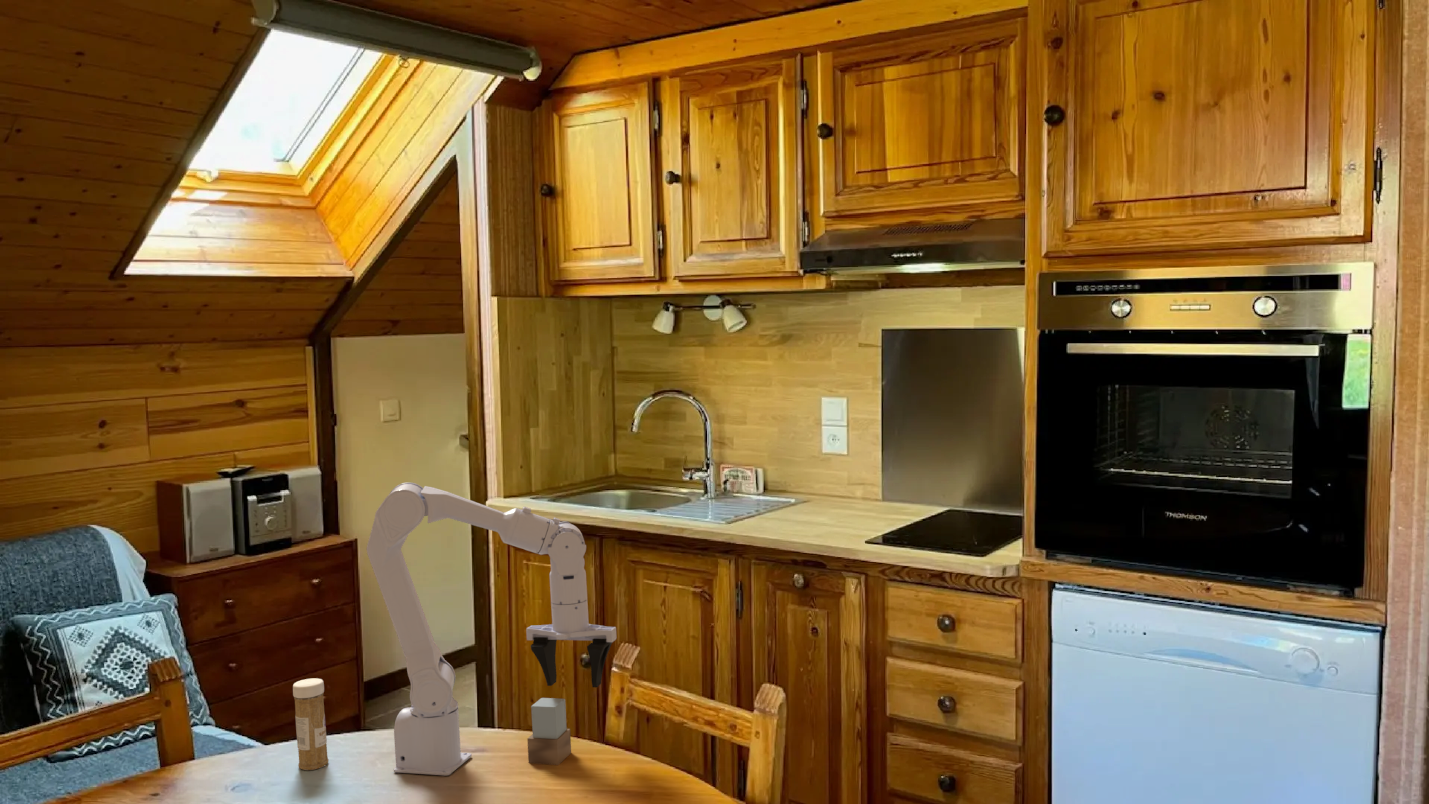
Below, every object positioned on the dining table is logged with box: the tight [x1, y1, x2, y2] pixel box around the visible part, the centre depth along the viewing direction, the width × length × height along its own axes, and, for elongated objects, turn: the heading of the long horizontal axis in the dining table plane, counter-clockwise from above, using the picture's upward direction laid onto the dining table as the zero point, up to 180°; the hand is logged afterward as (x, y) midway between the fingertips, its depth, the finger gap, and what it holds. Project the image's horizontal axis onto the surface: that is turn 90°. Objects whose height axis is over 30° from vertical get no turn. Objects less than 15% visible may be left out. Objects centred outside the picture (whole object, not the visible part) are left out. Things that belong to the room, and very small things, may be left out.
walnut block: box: [526, 728, 572, 766], centre depth 170 cm, size 5×5×4 cm
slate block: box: [530, 697, 568, 739], centre depth 170 cm, size 4×4×5 cm
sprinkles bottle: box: [292, 677, 329, 771], centre depth 171 cm, size 5×5×14 cm
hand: (574, 684), depth 172 cm, fingers open, 7 cm apart
